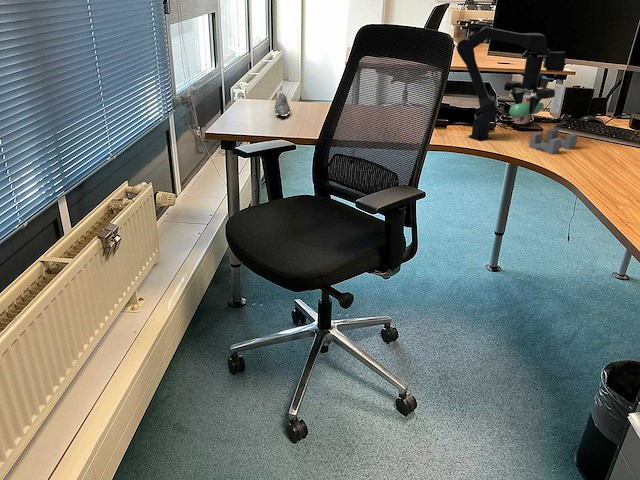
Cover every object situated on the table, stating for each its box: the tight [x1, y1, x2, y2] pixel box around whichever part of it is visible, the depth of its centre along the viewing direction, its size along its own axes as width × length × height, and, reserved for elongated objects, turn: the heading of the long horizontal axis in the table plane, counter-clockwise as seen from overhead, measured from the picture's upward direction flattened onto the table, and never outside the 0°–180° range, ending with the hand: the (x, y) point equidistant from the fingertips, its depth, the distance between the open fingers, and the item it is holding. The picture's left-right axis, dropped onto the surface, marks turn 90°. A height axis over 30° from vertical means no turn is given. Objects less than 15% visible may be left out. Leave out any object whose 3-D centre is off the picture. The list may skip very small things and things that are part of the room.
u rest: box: [528, 128, 579, 155], centre depth 200 cm, size 14×10×5 cm
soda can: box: [511, 94, 532, 124], centre depth 226 cm, size 7×7×12 cm
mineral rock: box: [274, 92, 291, 115], centre depth 236 cm, size 13×11×10 cm
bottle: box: [509, 102, 545, 119], centre depth 203 cm, size 16×5×5 cm, turn 124°
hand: (524, 112), depth 203 cm, fingers closed on bottle, 5 cm apart
